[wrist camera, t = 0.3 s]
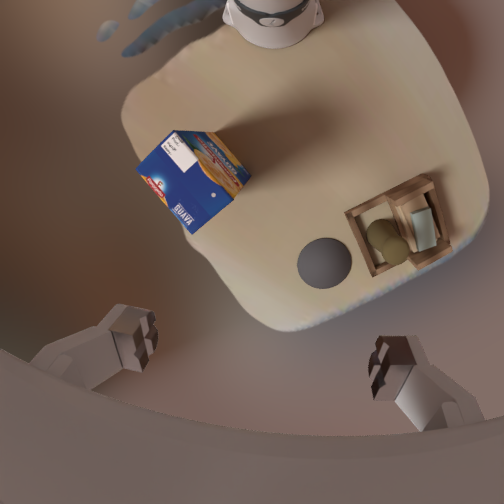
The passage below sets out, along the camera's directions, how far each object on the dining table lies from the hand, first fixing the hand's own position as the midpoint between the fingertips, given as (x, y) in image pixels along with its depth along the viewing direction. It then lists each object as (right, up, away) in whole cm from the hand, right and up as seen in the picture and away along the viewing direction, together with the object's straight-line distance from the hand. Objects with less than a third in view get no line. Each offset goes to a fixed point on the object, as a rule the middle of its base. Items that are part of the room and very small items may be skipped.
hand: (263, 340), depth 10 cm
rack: (+29, +8, +45) cm, 54 cm away
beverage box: (-7, +19, +44) cm, 49 cm away
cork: (+25, +7, +46) cm, 53 cm away
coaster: (+14, +1, +49) cm, 51 cm away
